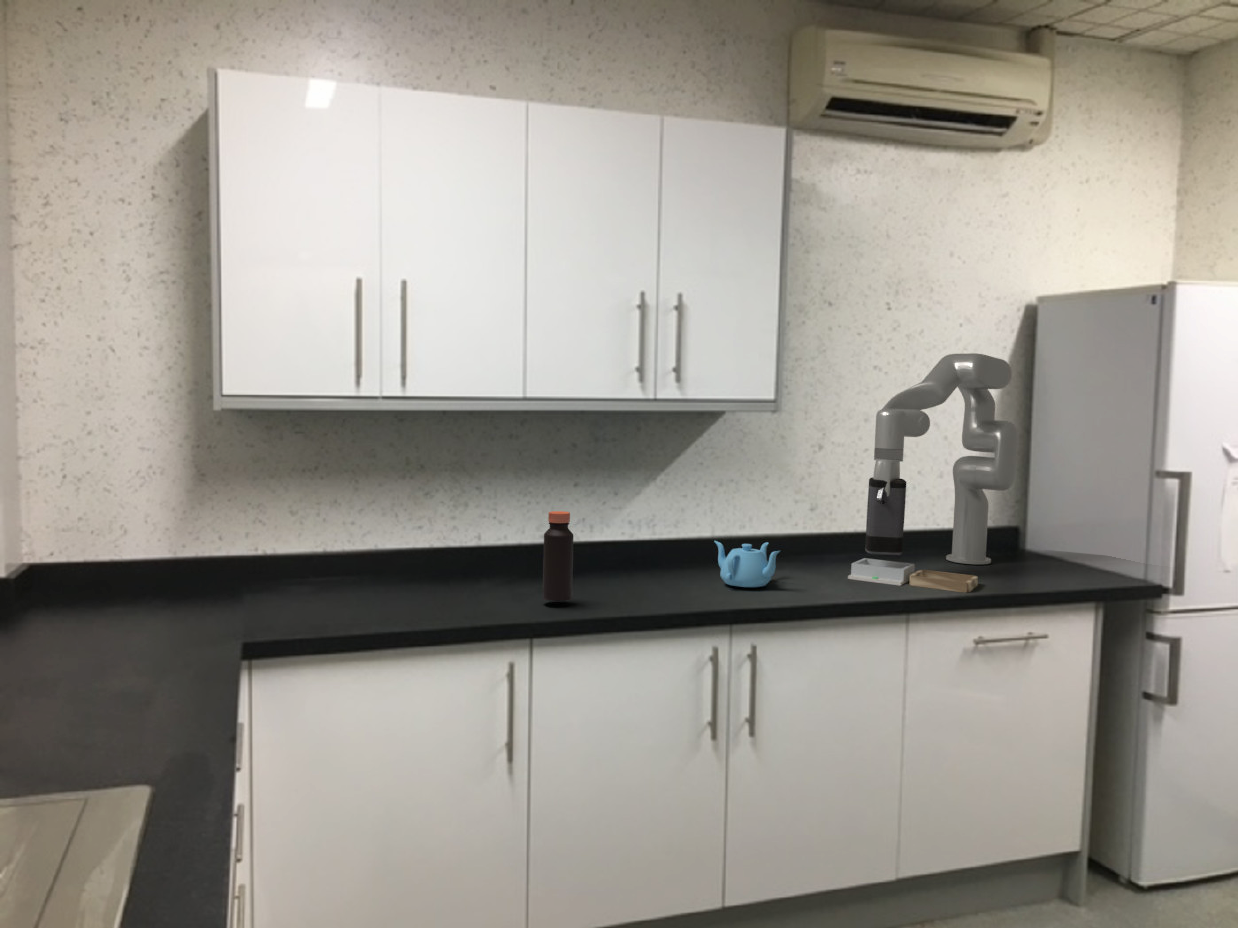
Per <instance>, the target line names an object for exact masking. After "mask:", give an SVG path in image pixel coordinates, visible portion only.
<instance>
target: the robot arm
mask: <svg viewBox="0 0 1238 928" xmlns="http://www.w3.org/2000/svg"><path fill="white" fill-rule="evenodd" d="M1012 375H1013V371H1012V368H1011V366H1010V364H1009V362H1007V361H1006V360H1004V359H1002V358H999V357H994V356H991V355H986V354H984V353H974V352H973V353H950V354H946V355H945V356H943V357H941V359H940V360H939V361H938V362H937V363H936V364H935V366H933V368H932V369H931V370H930V371H929V372H928V374H927V375H926V376H925V377H924V378H923V380H922V381H921V382H918V383H917V384H914V385H912V386H910V387H908V388H906V389H905V390H902V391H900V392H899V393H897V394H895V395H894V396H892V397H891V398H890V400H888V401H887V403H885V404H884V406H883V407H882V408H881V409H880V410H878V411H877V412H876V415H875V434H874V453H873V455H874V456H873V460H874V461H875V463H874V468H873V476H872V477H873V479H876V480H884V481H886V482H887V484H886V487H885V491H886V492H887V497H888V496H889V494H890V481H891V480H896V479H898V478H899V479H901V463H900V462H904V449H905V448H904V447H905V446H904V445H905V438H906V437H908V438H918V437H922V436H924V435H925V434H927V432H928V431H929V430H930V427H931V419H930V417H929V415H928V414H927V413H926V412H925V411H923V410H928V409H931V408H935V407H937V406H938V407H939V406H940V405H943V404H944V403H945V402H946V401H947V400H948V399H949V398H950V396H951V395H952V394H953V392H954V391H955V390H956V389H957V388H958V390H959V391H960V394H961V396H962V398H963V402H964V410H963V411H964V412H963V421H962V422H963V423H962V433H961V444H962V446H963V447H964V449H965V450H968V451H970V452H971V451H972V452H976V453H977V452H980V453H991V454H993V453H994V457H992V456H991V457H989V456H980V455H966V456H965V455H964V456H961V457H959V458H958V459H956V461H955V462H954V464H953V466H952V479H953V485H954V505H953V507H954V509H953V522H952V523H953V525H952V527H953V528H952V542H951V543H952V545H951V553H950V554H947V555H946V557H945V558H946V560H947V561H948V562H949V561H950V562H953V563H958V564H965V565H989V564H991V563H992V559H991V558H990V557H987V543H988V541H987V539H988V521H989V520H988V518H989V507H990V506H989V499H988V497H987V496H986V494H985V492H984V490H990V491H1007V490H1009V489H1010V488H1011V487H1012V486H1013V484H1014V482H1015V476H1016V470H1017V461H1018V460H1017V459H1018V453H1019V452H1018V451H1019V441H1020V440H1019V438H1020V436H1019V432H1018V429H1017V427H1016V425H1015V424H1014V423H1012V422H1011V421H1009V420H1008V421H1007V420H999V419H998V420H995V418H996V417H995V415H996V414H995V413H996V402H995V398H994V397H993V395H992V393H991V392H990V390H1002V389H1004V388H1006V387H1007V386H1008V385H1009V384H1010V383H1011V380H1012ZM883 493H884V488H882V489H880V490H878V495H877V501H878V502H879V503H882V504H884V503H885V502H884V501H883Z"/></svg>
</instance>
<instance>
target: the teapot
mask: <svg viewBox="0 0 1238 928" xmlns="http://www.w3.org/2000/svg"><path fill="white" fill-rule="evenodd" d="M713 542H714V543H715V545H716V546H717V548H718V556H717V561H718V563H717V565H718V566H719V569H720V573H719V574H720V578H721V580H723V582H724V583H725V584H727V585H729V586H734V587H742V588H759V587H765V586H767V584H768V583H769V582H770V581H771V579H772V576H773V575H774V574H775V572H776V566H777V564H776V563H777V562H776V559H777V555H778V554H779V553H780V552H781V550H777V551H776V550H775V551H772V552H771V553H770V555H769V558H767V548H768V545H769V542H768V541H767V542H764V543H763V544H762V545H761V546H760V549H756V548H752V547H753V544H752V543H742V544H741V547H742V548H741V547H738V548H732V549H730V551H729V553H728V554H727V556H726V554H725V548H724V545H723V544H722V543H721V542H719V541H718V540H714V541H713Z"/></svg>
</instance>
